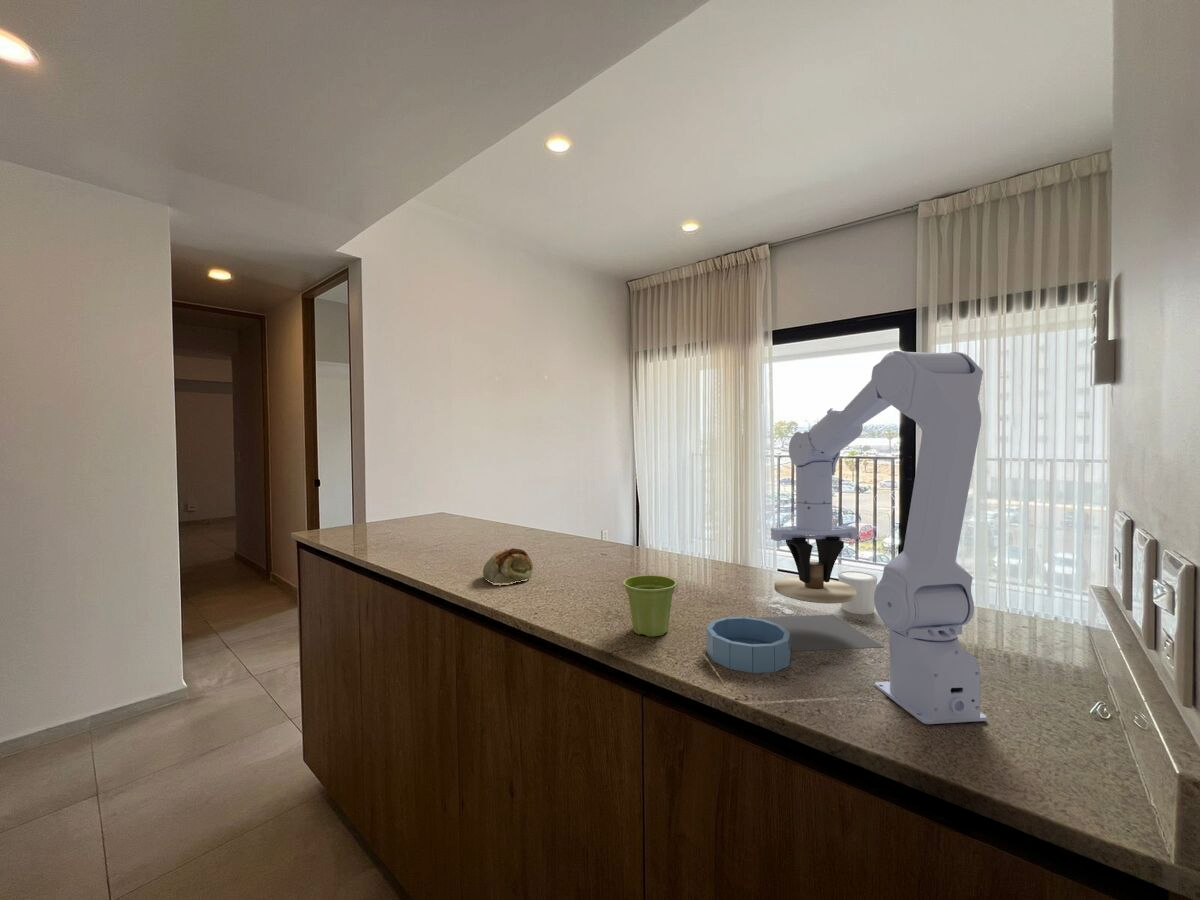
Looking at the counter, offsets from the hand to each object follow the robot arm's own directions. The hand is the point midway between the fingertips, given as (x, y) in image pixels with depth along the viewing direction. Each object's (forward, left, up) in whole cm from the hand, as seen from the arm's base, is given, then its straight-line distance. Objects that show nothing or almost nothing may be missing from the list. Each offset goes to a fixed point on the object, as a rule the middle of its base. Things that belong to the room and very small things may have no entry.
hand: (814, 581), depth 86 cm
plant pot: (+4, +28, -9) cm, 30 cm away
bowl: (-8, +15, -9) cm, 19 cm away
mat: (0, 0, -9) cm, 9 cm away
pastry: (+42, +56, -9) cm, 71 cm away
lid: (0, 0, -2) cm, 2 cm away
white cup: (+10, -14, -9) cm, 20 cm away
